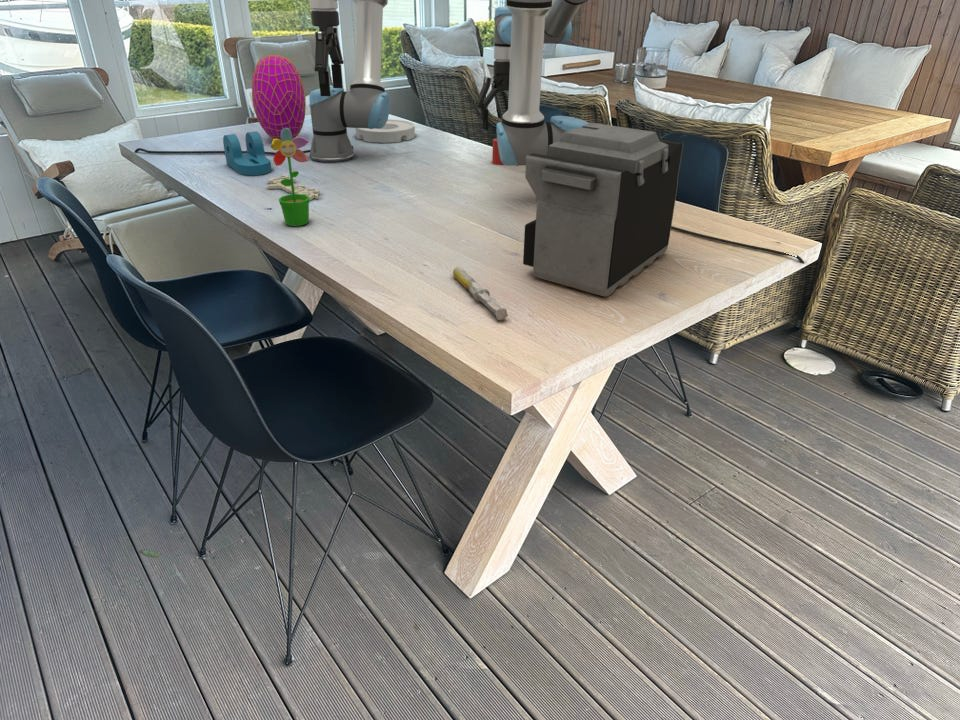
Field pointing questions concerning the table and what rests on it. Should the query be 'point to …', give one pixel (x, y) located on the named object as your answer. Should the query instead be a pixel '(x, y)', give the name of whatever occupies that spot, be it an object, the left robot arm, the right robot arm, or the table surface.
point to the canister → (496, 153)
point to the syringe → (479, 293)
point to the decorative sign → (297, 188)
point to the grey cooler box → (601, 206)
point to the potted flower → (291, 178)
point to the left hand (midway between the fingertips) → (332, 92)
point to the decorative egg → (278, 96)
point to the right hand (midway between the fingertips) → (503, 128)
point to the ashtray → (388, 132)
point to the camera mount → (246, 154)
